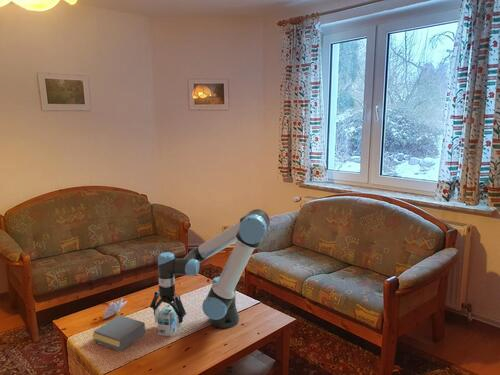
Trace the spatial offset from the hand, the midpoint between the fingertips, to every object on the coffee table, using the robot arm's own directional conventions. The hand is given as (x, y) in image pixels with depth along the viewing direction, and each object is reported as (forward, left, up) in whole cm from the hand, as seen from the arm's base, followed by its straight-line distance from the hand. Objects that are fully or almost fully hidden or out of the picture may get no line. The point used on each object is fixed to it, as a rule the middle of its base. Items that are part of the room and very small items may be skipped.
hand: (168, 324), depth 187 cm
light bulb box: (0, 0, -3) cm, 3 cm away
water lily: (+34, +2, -3) cm, 34 cm away
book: (+16, +16, -3) cm, 23 cm away
